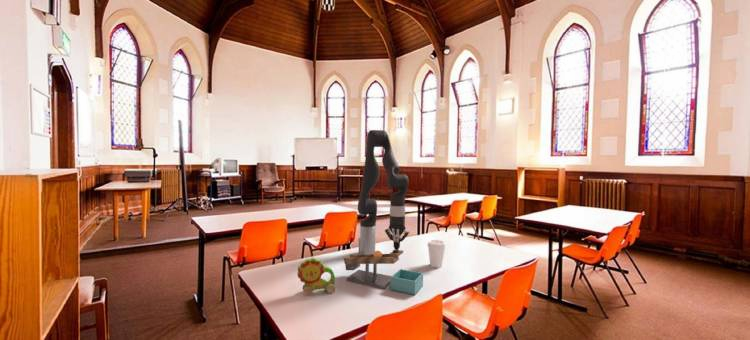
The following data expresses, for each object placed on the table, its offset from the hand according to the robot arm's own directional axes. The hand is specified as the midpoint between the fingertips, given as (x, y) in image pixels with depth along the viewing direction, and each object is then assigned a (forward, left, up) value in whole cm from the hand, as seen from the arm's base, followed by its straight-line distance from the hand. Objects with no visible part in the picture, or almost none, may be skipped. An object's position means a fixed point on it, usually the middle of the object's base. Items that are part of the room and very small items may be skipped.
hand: (396, 249), depth 160 cm
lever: (-7, -6, -7) cm, 12 cm away
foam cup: (+14, +23, -13) cm, 30 cm away
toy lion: (-23, -35, -14) cm, 44 cm away
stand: (-8, -12, -13) cm, 20 cm away
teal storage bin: (+10, -12, -13) cm, 20 cm away
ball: (-5, -12, 0) cm, 13 cm away
